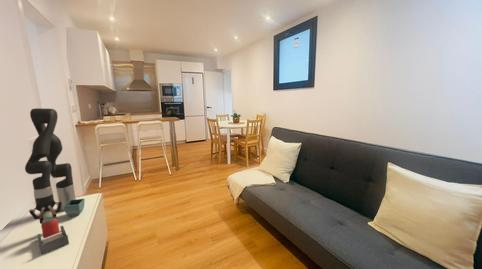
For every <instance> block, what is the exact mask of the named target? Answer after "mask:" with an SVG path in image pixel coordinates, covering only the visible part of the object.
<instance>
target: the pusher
mask: <svg viewBox="0 0 482 269" xmlns="http://www.w3.org/2000/svg"><path fill="white" fill-rule="evenodd" d="M61 237H63V235H62V232H61V231H60V233H57V234H55V235H52V236H49V237H47V238H44V237H43V238H41V241H42V245H43V244H45V243H48V242H50V241H53V240H56V239H58V238H61Z"/></svg>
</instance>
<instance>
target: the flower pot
mask: <svg viewBox="0 0 482 269" xmlns="http://www.w3.org/2000/svg"><path fill="white" fill-rule="evenodd" d="M85 202H86V201H85V198H78V199H77V198H76V200H70V201H69V202H68V203H66V204H65V205H64V206H63V207H64V210H65V211H64V212H65V214H66V215H67V216H68V217H76V216H80V214H81V213H82V212H83V210H84V208H85Z"/></svg>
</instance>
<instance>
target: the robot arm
mask: <svg viewBox="0 0 482 269" xmlns="http://www.w3.org/2000/svg"><path fill="white" fill-rule="evenodd" d="M29 113H30V114H29V115H30V120H31V122H32V124H33V126H34V128H35V130H36V132H37V135H38V136H37V137H36V138H35V139H34V141H33V144H32V151H31V154H30V157H29V159H28V160H27V162H26V163H25V166H24V171H25V173H26V174H28V175H37V174H41V176H37V177H35V178H33V179H32V187H33V197H34V201H35V207H33V208H31V209H29V210H28V212H29V214H30V215H31V216H32V218H33V219H34V220H38V221H39V223H40V224H42V221H43V217H42V216H43V213H44V212H46V211H50V210H51V212H52V213H53V217H56V219H57V218H58V217H57V213H60V212H65V210H64V207H63V206H64V205H65V204H66V203H68V202H69V201H70V200H76V199H77V198H76V193H75V187H74V179H73V170H72V165H71V163H69V162H68V163H67V162H66V163H59V164H57V163H56V161H57V159H58V158H59V156H60V154H61V153H62V151H63V144H62V141H61V139H60V138H59V136H57V135H56V134H55V133H54V132H55V130H56V129H55V128H56V126H57V122H58V112H57V110H55V109H54V108H37V107H36V108H32V109H31V110H30V112H29ZM44 158H46V160H41V159H44ZM51 178H53V179H57V178H59V179H60V178H64V179H62V180H60V181H58V182H56V184H55V189H56V194H57V195H56V196H57V200H58V201H55V198H54V191H53V188H52V182H51ZM55 206H56V209H54V207H55ZM36 210H37V211H38V212H39V214H38V215H37V214H36ZM57 220H58V219H57Z"/></svg>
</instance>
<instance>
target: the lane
mask: <svg viewBox="0 0 482 269" xmlns="http://www.w3.org/2000/svg"><path fill="white" fill-rule="evenodd" d="M59 229H60V232H62V236H63V237H61V238H58V239H56V240H53V241H50V242H48V243H45V244H43V241H42V236H41V233H38V234H37V242H38V247H39V254H40V256H43V255H46V254H48V253H51V252H53V251H55V250H58V249H61V248H63V247H66V246H68V245H70V243H69V242H70V241H69V236H68V234H67V233H66V229H65V227H64V225H60V227H59Z"/></svg>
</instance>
